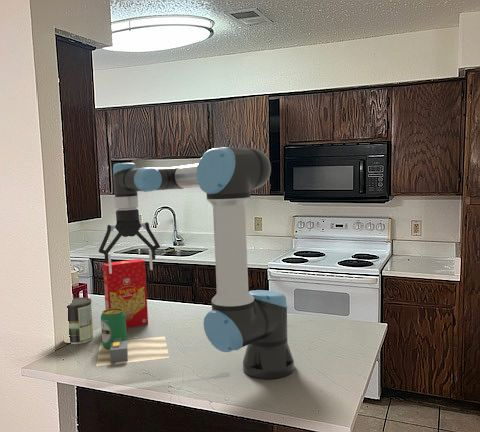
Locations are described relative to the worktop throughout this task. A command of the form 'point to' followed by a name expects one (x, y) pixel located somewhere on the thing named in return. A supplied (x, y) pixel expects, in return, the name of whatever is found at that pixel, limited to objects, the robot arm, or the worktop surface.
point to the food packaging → (127, 290)
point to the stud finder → (119, 351)
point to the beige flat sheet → (137, 351)
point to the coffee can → (80, 320)
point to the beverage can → (113, 326)
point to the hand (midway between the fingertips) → (131, 271)
